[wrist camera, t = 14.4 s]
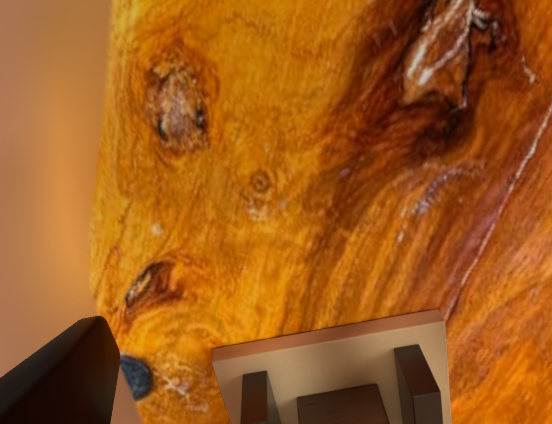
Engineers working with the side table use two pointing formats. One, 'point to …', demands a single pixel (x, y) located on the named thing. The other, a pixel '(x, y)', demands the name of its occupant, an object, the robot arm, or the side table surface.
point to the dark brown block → (343, 407)
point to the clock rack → (341, 370)
